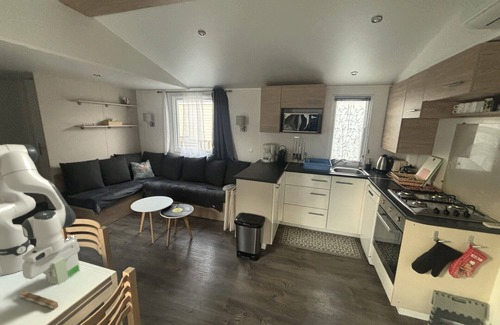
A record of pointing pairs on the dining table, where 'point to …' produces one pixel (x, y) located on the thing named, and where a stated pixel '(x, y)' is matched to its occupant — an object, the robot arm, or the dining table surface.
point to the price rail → (39, 300)
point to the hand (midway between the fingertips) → (56, 272)
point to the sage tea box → (58, 272)
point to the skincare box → (72, 265)
